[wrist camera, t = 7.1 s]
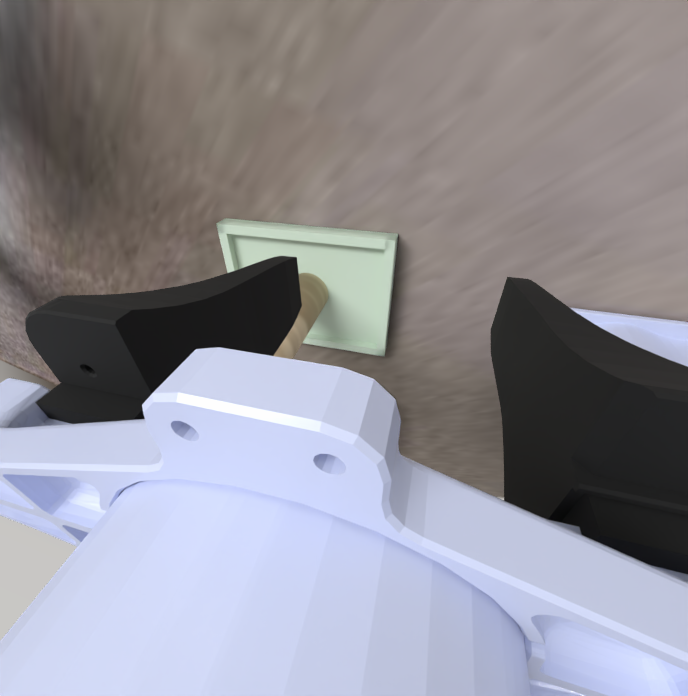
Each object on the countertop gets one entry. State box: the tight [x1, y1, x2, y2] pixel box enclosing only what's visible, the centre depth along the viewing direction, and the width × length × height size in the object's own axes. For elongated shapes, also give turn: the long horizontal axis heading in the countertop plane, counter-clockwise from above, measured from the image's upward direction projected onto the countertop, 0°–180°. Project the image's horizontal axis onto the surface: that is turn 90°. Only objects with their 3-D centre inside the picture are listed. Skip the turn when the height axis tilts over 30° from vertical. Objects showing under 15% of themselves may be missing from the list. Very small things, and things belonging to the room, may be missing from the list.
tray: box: [216, 218, 398, 356], centre depth 24 cm, size 12×9×1 cm
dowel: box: [274, 273, 328, 359], centre depth 21 cm, size 3×3×9 cm
